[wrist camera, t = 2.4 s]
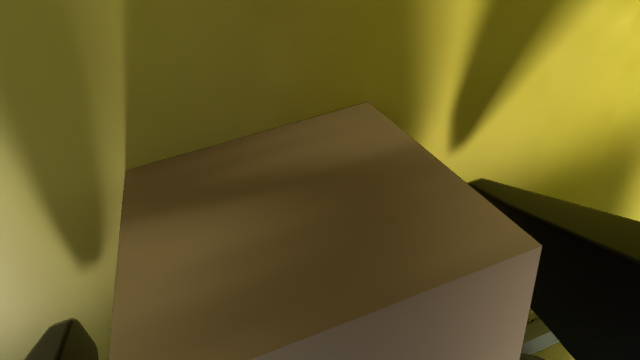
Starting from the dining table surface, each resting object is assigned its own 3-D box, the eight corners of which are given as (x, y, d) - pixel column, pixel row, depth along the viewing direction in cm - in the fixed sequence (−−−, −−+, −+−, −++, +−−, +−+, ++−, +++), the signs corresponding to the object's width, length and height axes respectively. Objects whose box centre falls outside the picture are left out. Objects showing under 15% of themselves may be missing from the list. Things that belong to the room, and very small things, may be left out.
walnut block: (203, 332, 11) (235, 576, 7) (125, 168, 8) (103, 417, 4) (381, 266, 12) (501, 446, 8) (367, 100, 9) (542, 245, 5)
